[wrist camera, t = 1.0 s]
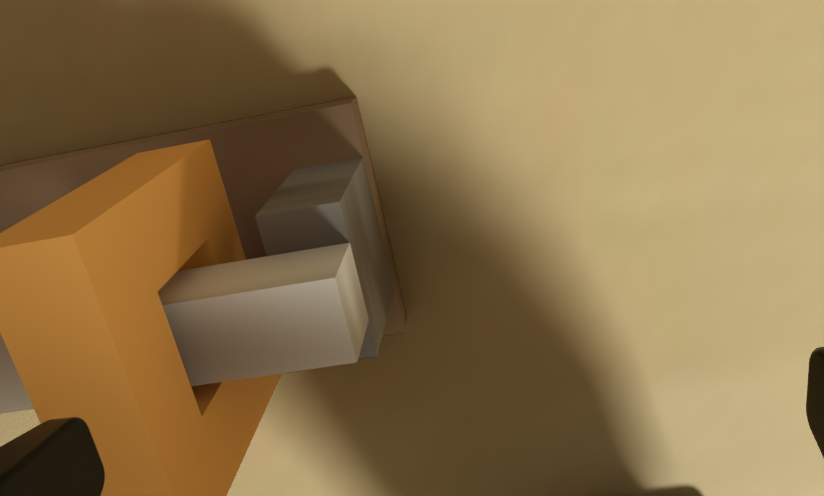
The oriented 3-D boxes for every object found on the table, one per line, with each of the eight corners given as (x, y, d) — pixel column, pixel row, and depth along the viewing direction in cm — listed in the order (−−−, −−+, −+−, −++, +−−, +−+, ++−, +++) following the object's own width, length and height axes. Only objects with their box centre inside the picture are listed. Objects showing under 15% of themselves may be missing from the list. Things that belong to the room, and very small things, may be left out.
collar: (281, 374, 21) (197, 558, 15) (215, 384, 21) (105, 568, 15) (209, 139, 19) (72, 234, 12) (137, 153, 19) (-36, 253, 13)
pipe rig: (406, 317, 23) (381, 461, 16) (-126, 397, 26) (-332, 549, 19) (356, 96, 21) (303, 160, 14) (-226, 209, 23) (-502, 309, 17)
